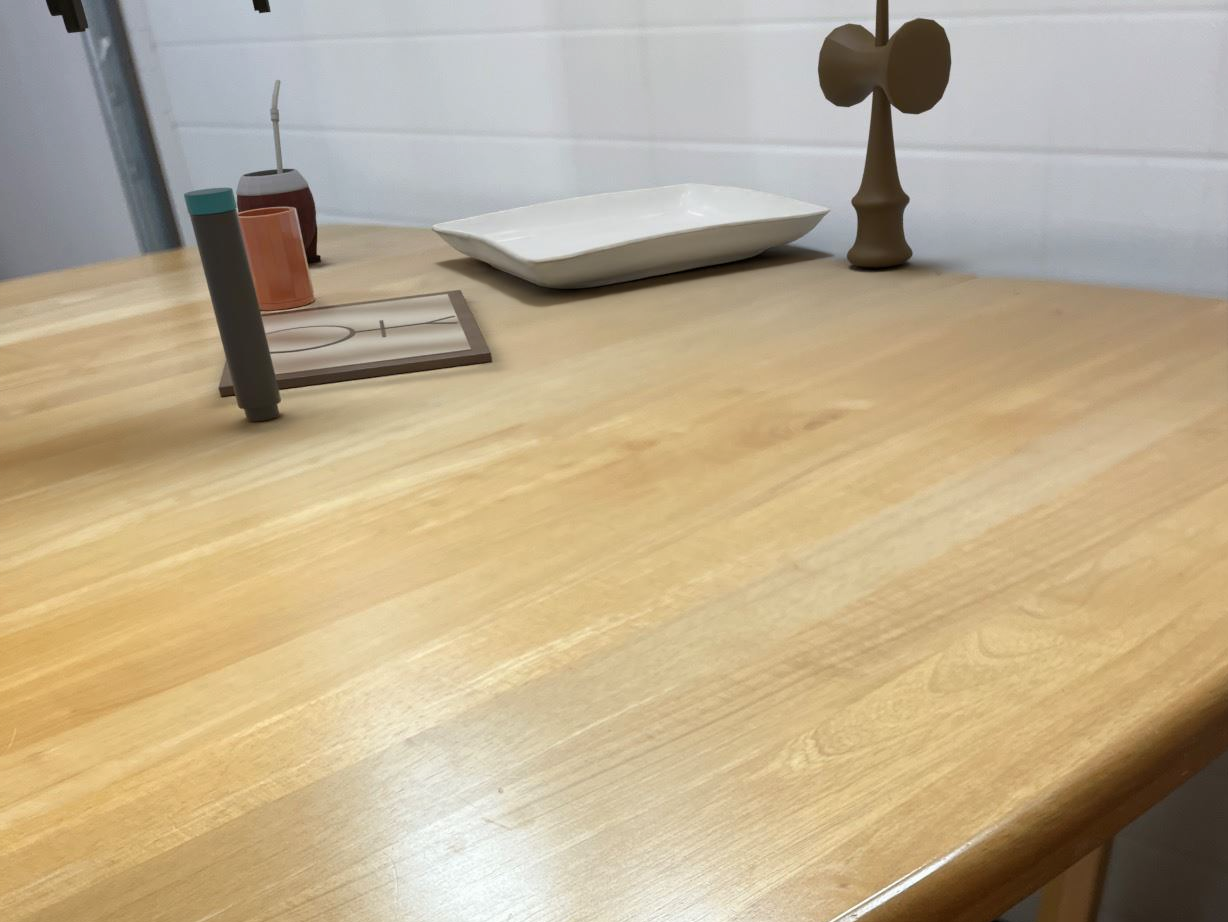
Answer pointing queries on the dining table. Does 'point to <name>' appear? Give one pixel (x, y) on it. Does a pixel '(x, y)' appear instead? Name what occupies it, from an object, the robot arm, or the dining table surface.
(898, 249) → the kendama
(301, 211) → the mate gourd
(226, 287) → the marker
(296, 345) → the framed picture
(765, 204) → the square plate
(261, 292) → the pen cup
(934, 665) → the dining table surface
